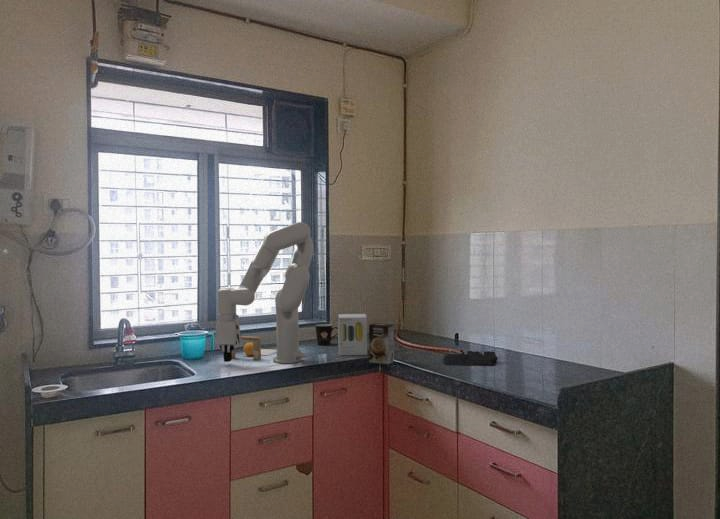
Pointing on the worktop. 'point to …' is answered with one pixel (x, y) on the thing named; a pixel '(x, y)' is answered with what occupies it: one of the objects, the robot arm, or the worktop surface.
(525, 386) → the worktop surface
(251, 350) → the ball
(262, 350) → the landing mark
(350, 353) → the supplement box
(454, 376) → the worktop surface
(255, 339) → the bridge
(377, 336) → the coffee box
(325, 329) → the coffee mug
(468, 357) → the dark slate chunk
